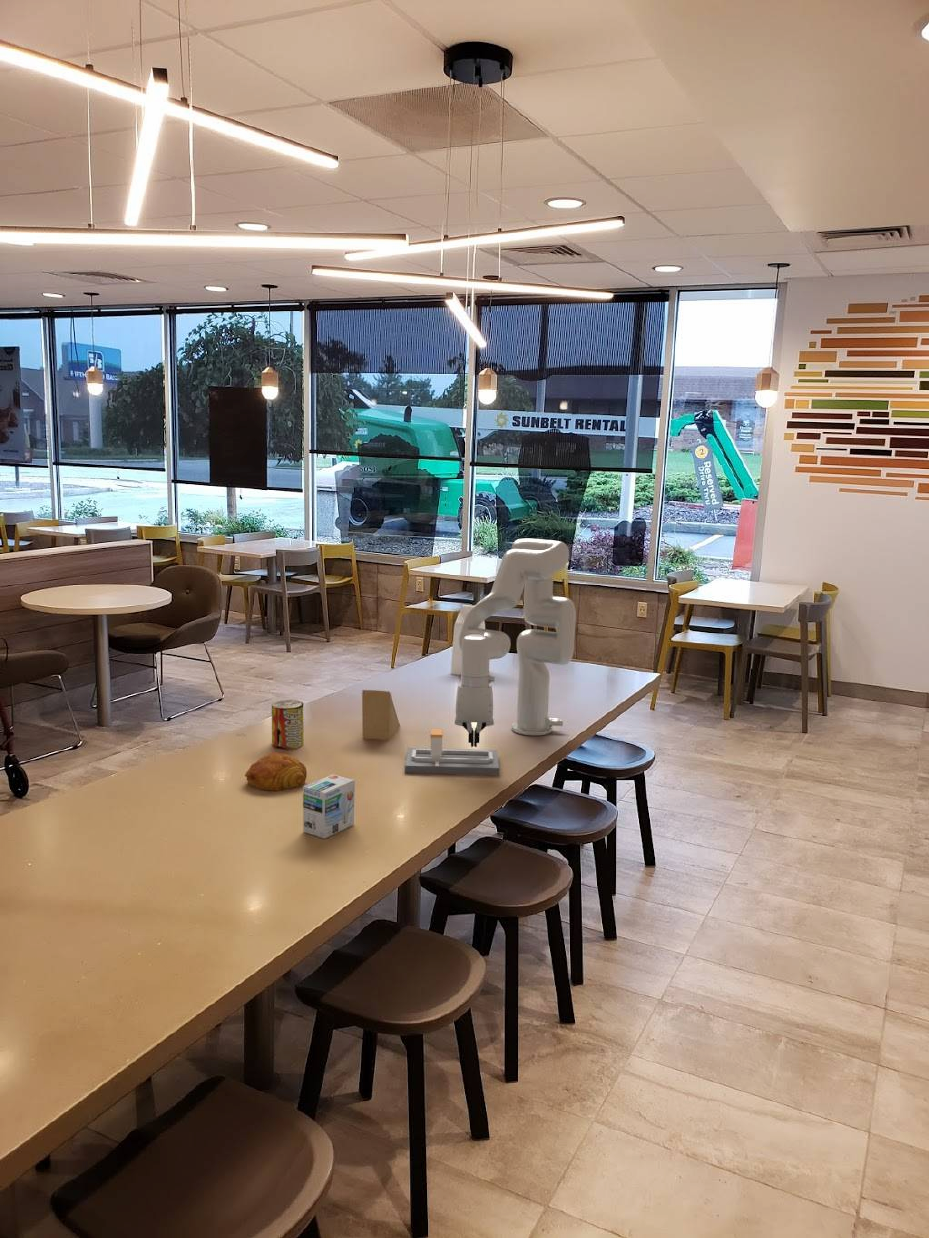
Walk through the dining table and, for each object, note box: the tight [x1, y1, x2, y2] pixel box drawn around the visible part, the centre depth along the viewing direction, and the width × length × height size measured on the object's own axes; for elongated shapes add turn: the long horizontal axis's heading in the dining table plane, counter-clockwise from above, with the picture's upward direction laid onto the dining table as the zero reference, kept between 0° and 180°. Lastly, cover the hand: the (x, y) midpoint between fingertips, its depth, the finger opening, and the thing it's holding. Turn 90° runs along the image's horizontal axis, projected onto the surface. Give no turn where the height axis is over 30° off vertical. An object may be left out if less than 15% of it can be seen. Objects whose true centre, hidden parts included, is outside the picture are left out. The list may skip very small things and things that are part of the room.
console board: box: [404, 747, 500, 776], centre depth 255 cm, size 25×15×3 cm, turn 90°
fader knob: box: [430, 728, 444, 758], centre depth 254 cm, size 3×5×7 cm, turn 0°
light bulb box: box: [302, 773, 356, 840], centre depth 210 cm, size 11×7×11 cm, turn 148°
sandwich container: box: [361, 689, 401, 741], centre depth 282 cm, size 9×15×15 cm, turn 171°
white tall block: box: [450, 604, 486, 676], centre depth 360 cm, size 12×12×26 cm
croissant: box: [244, 752, 308, 792], centre depth 238 cm, size 14×16×8 cm
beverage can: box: [271, 699, 305, 750], centre depth 267 cm, size 9×9×12 cm
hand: (473, 745), depth 255 cm, fingers closed
